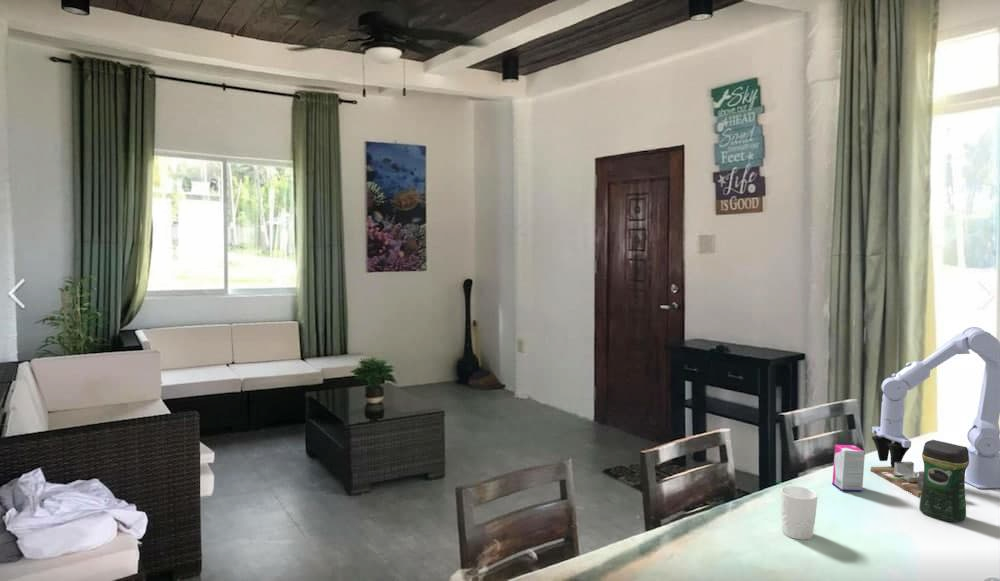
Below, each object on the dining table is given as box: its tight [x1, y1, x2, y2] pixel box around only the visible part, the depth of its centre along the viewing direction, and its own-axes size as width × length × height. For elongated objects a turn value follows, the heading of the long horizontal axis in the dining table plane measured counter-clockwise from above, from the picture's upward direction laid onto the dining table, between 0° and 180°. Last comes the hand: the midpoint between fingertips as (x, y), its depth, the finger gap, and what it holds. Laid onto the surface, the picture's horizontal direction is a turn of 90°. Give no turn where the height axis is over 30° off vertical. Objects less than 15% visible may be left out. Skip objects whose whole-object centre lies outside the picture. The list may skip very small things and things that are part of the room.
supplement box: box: [832, 444, 866, 493], centre depth 187 cm, size 6×6×12 cm
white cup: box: [780, 485, 819, 541], centre depth 159 cm, size 8×8×10 cm
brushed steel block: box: [894, 461, 920, 482], centre depth 190 cm, size 8×8×4 cm
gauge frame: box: [870, 465, 924, 498], centre depth 191 cm, size 20×10×6 cm, turn 5°
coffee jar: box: [918, 439, 969, 522], centre depth 169 cm, size 10×8×19 cm
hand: (889, 463), depth 200 cm, fingers open, 5 cm apart
